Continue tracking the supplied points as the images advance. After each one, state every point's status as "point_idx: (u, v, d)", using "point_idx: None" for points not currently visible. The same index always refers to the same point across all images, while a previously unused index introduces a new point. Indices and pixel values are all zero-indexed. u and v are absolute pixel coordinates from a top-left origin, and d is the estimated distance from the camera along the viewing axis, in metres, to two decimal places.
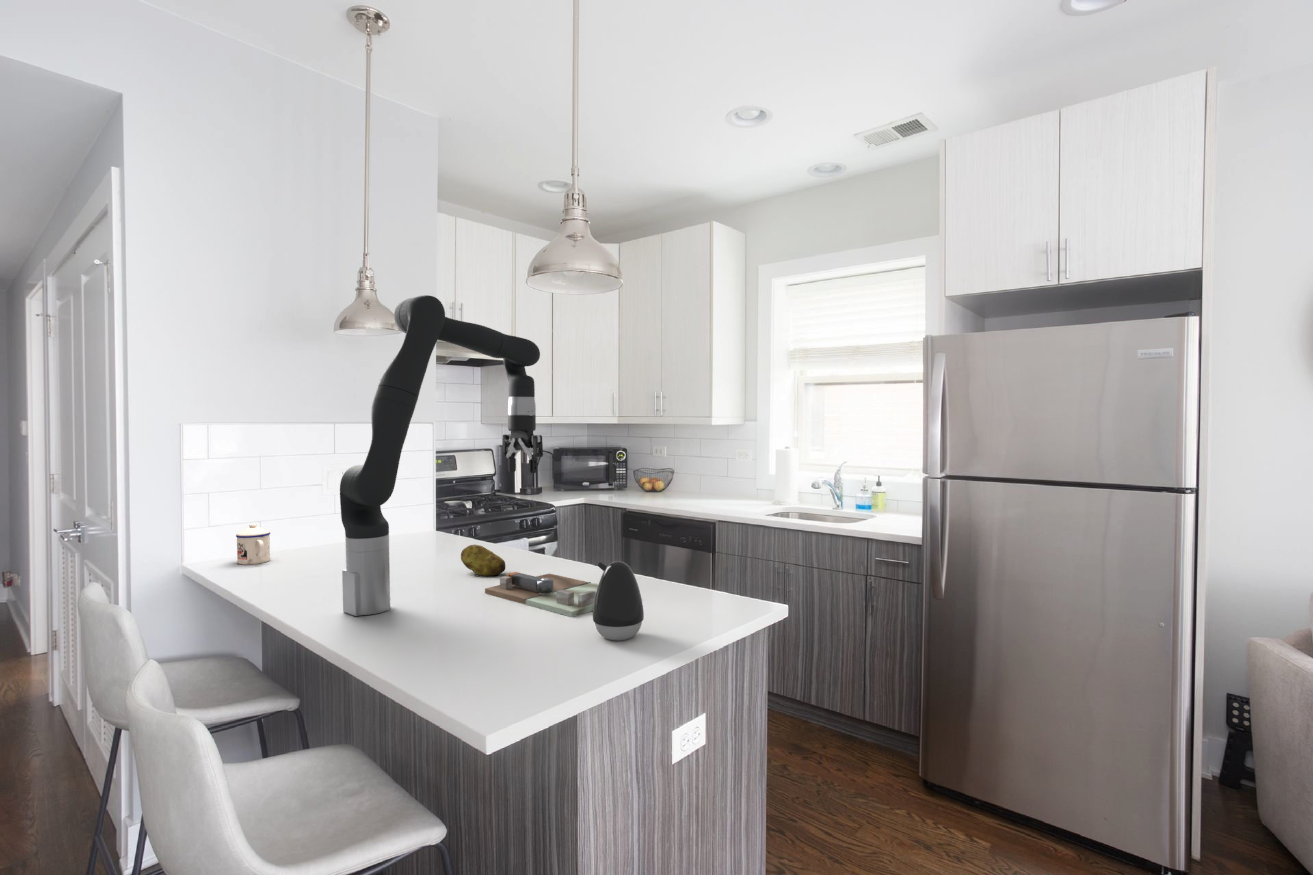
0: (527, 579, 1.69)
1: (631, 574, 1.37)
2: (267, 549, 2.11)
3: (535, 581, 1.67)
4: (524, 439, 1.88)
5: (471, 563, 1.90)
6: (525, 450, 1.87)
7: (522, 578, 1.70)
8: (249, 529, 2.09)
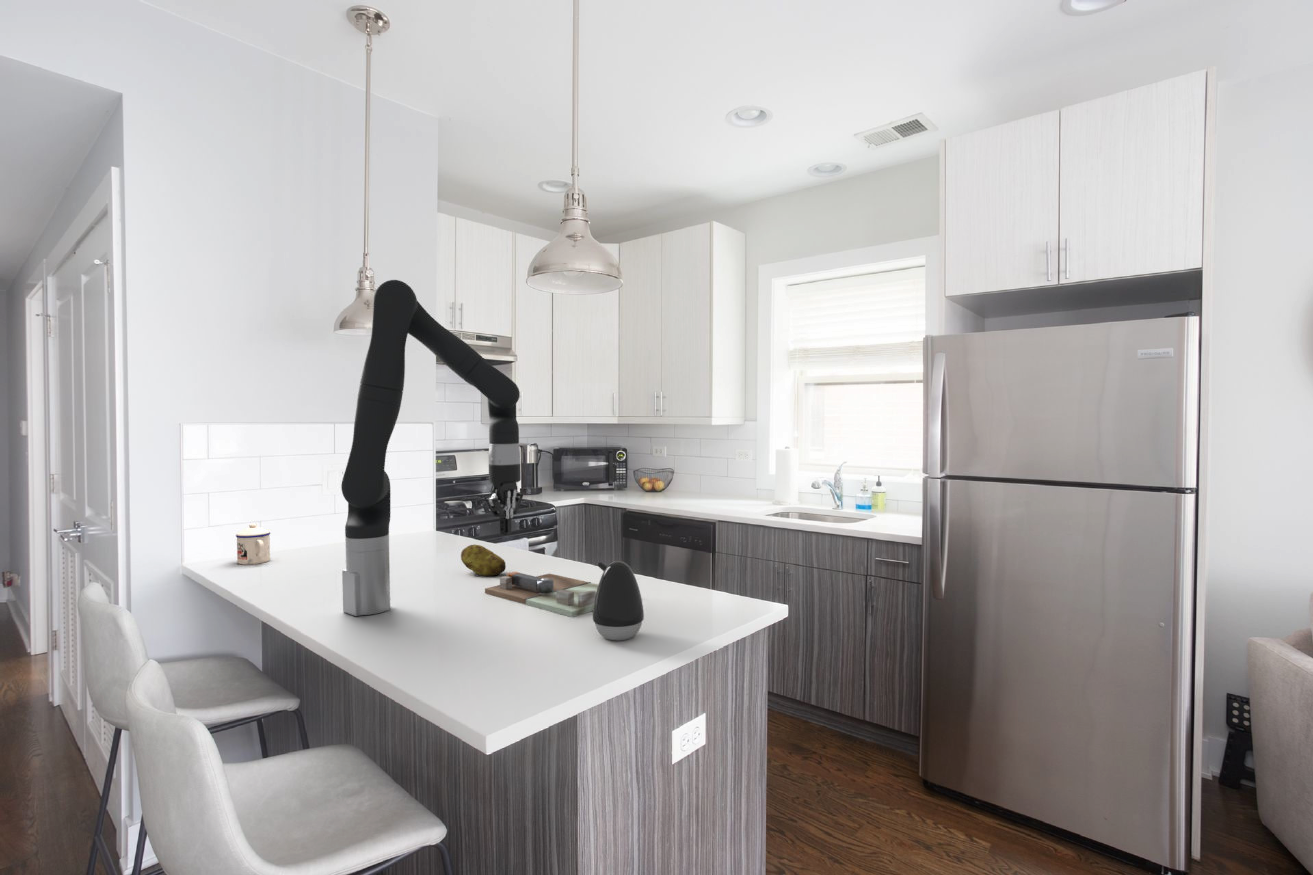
0: (527, 579, 1.69)
1: (631, 574, 1.37)
2: (267, 549, 2.11)
3: (535, 581, 1.67)
4: None
5: (471, 562, 1.90)
6: (513, 506, 1.67)
7: (522, 578, 1.70)
8: (249, 529, 2.09)
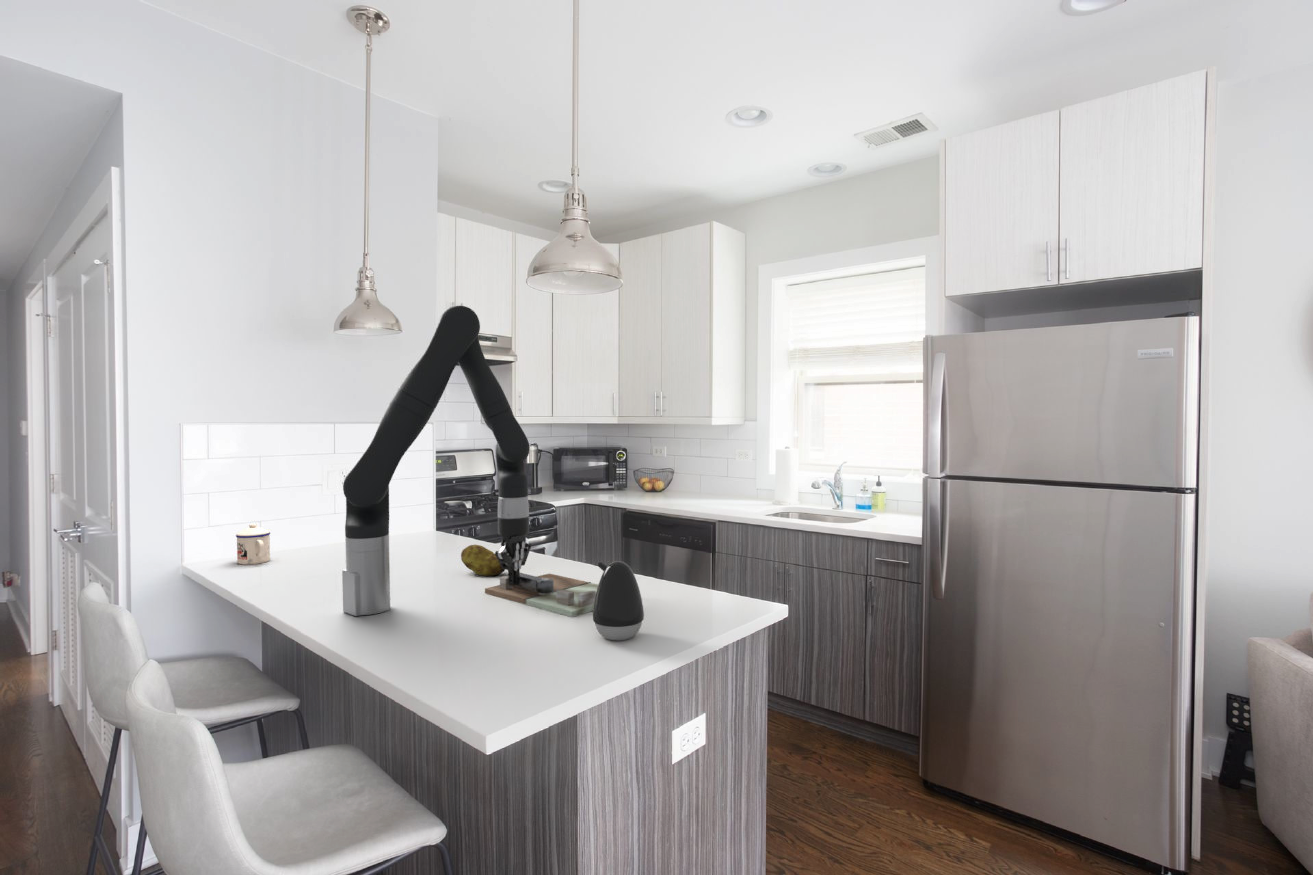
0: (527, 579, 1.69)
1: (631, 574, 1.37)
2: (267, 549, 2.11)
3: (535, 581, 1.67)
4: None
5: (472, 563, 1.90)
6: (521, 557, 1.70)
7: (522, 578, 1.70)
8: (249, 529, 2.09)
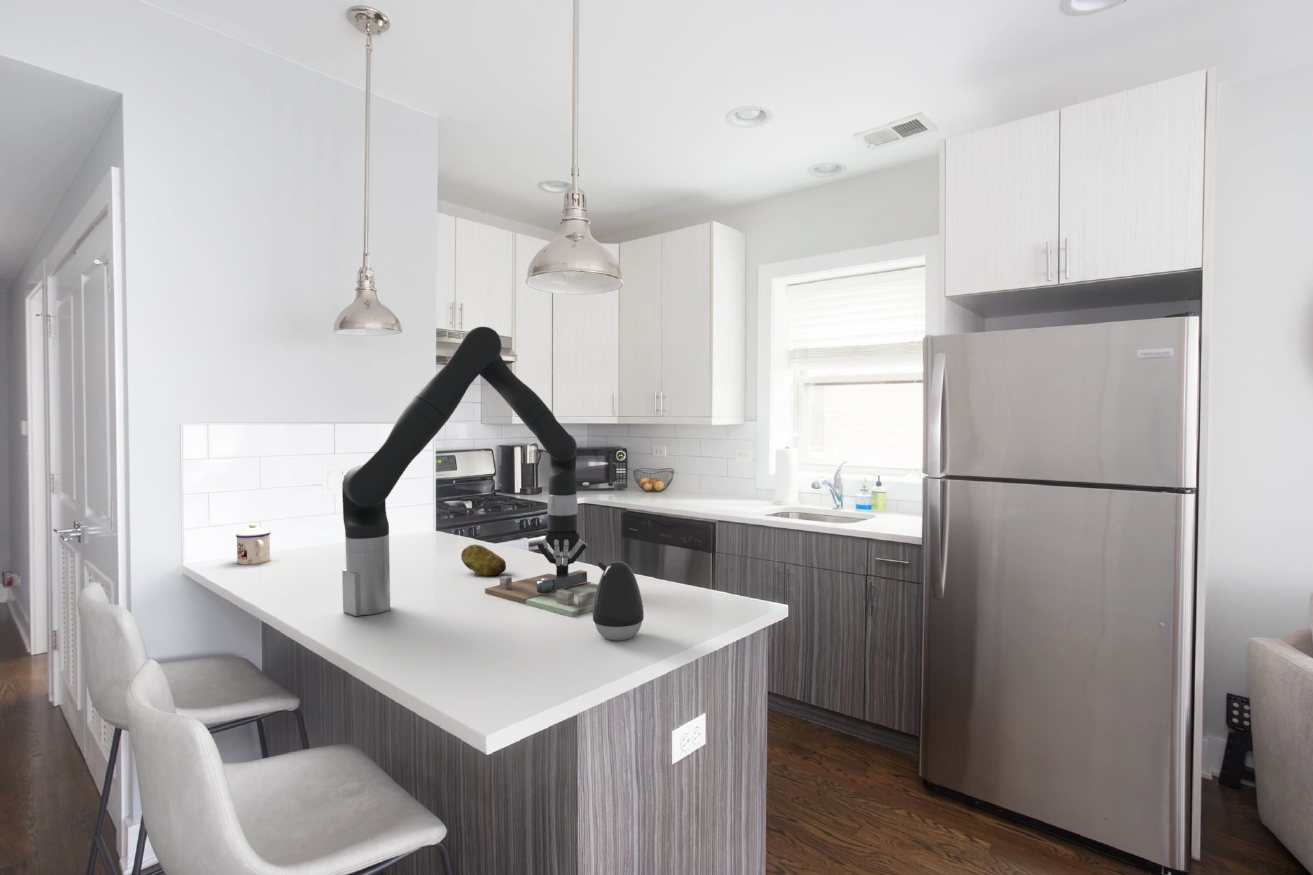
0: None
1: (631, 574, 1.37)
2: (267, 549, 2.11)
3: None
4: (570, 543, 1.74)
5: (472, 562, 1.90)
6: (565, 555, 1.73)
7: None
8: (249, 529, 2.09)
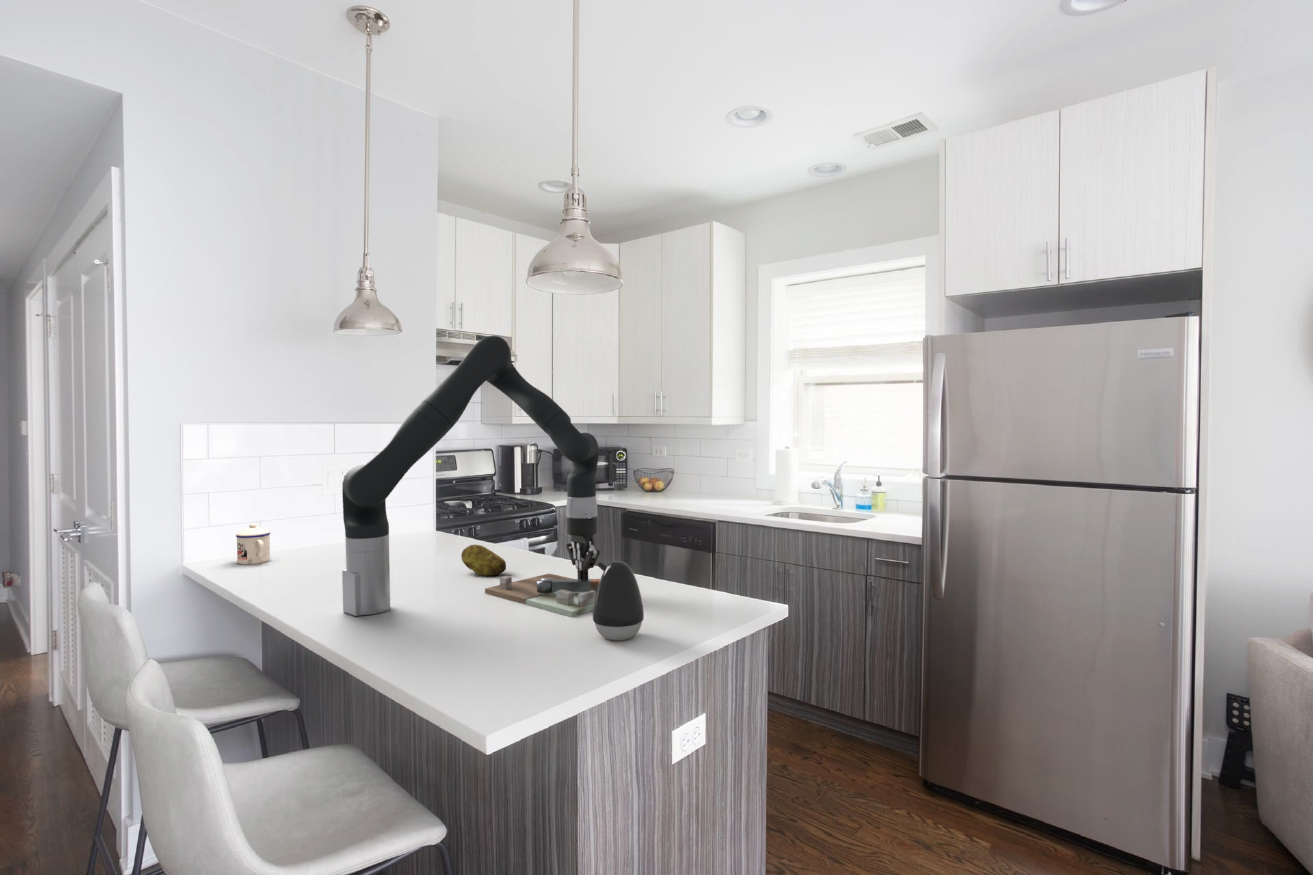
0: None
1: (631, 574, 1.37)
2: (267, 549, 2.11)
3: None
4: (582, 547, 1.67)
5: (472, 562, 1.90)
6: (578, 559, 1.68)
7: None
8: (249, 529, 2.09)
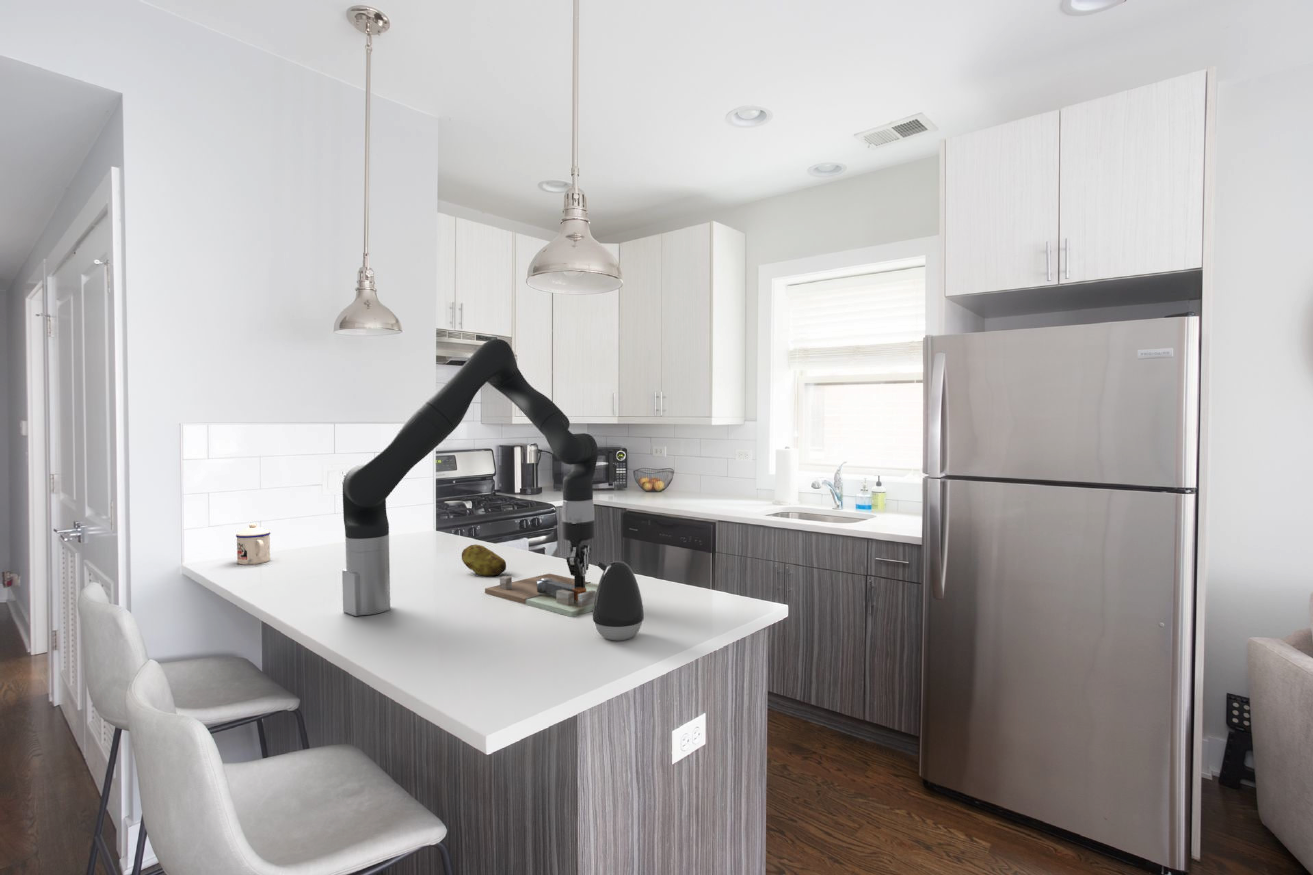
0: None
1: (631, 574, 1.37)
2: (267, 549, 2.11)
3: None
4: None
5: (472, 562, 1.90)
6: None
7: None
8: (249, 529, 2.09)
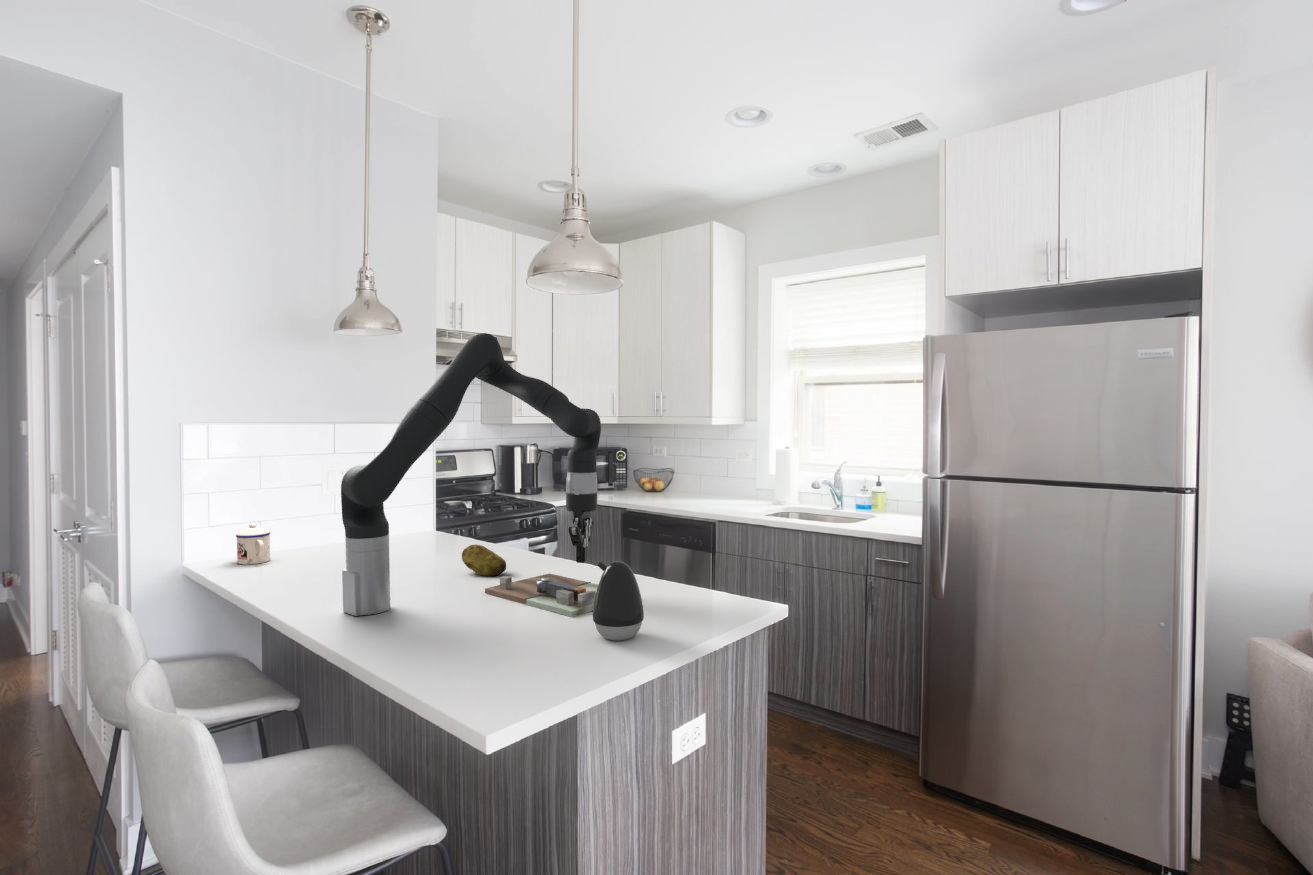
0: None
1: (631, 574, 1.37)
2: (267, 549, 2.11)
3: None
4: None
5: (472, 562, 1.90)
6: None
7: None
8: (249, 529, 2.09)
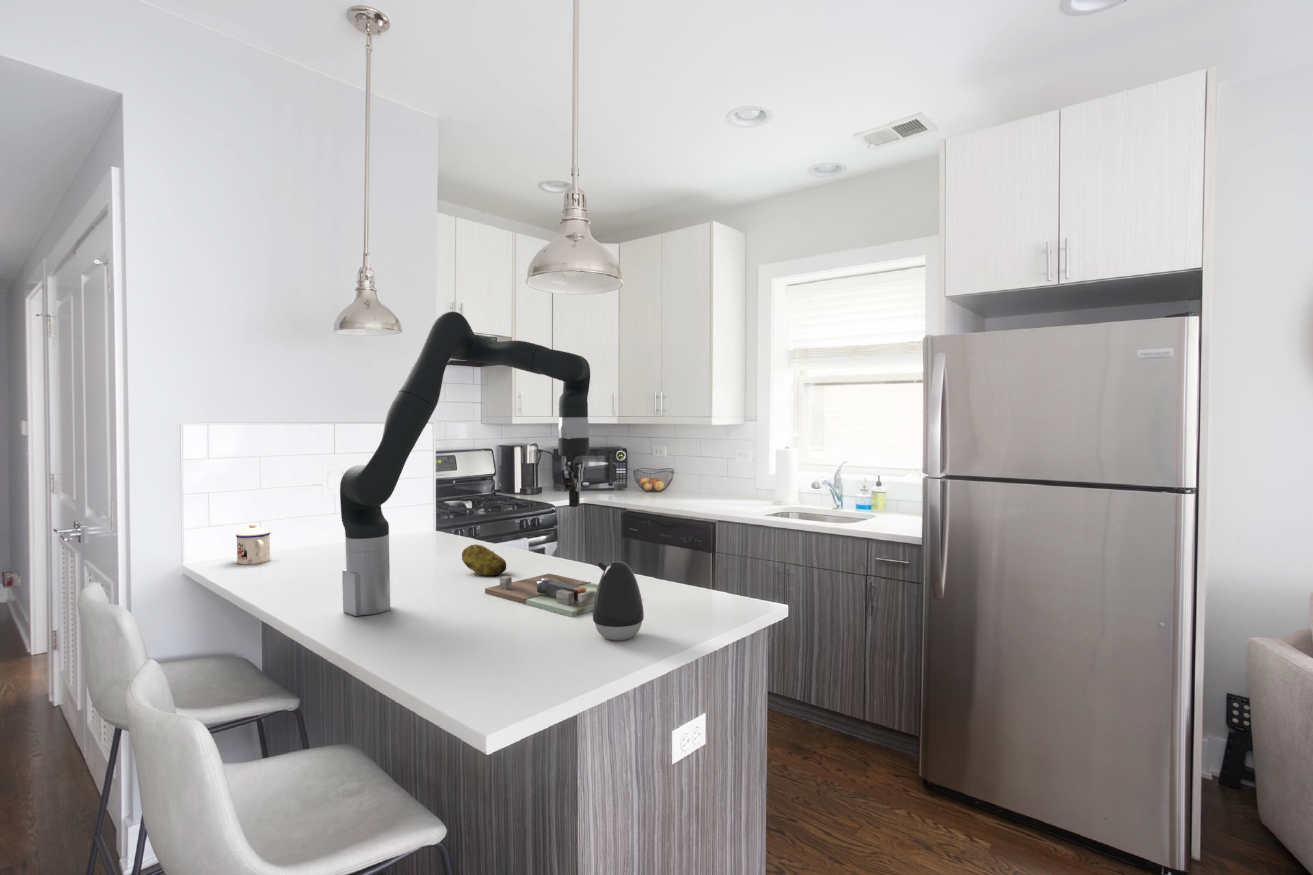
0: None
1: (631, 574, 1.37)
2: (267, 549, 2.11)
3: None
4: None
5: (472, 562, 1.90)
6: None
7: None
8: (249, 529, 2.09)
